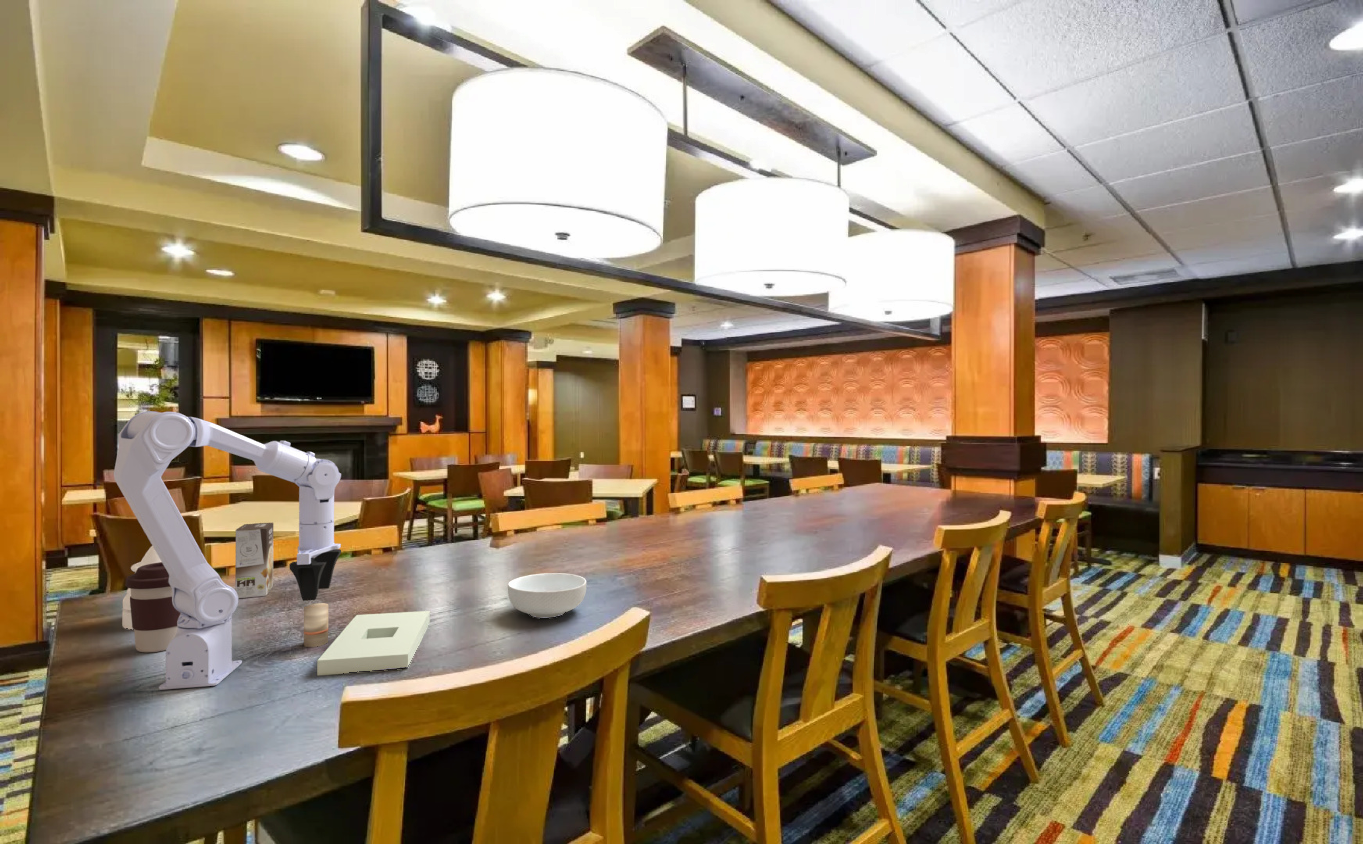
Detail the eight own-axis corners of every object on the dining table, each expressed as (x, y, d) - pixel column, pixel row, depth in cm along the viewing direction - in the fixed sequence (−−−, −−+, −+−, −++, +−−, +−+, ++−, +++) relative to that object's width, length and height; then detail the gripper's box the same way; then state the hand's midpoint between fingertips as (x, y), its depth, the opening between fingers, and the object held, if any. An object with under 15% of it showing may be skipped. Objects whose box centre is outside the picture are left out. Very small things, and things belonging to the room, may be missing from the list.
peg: (324, 646, 117) (324, 609, 117) (300, 648, 116) (300, 610, 116) (331, 638, 121) (331, 602, 121) (307, 640, 120) (308, 603, 120)
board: (407, 668, 108) (407, 654, 107) (317, 675, 104) (317, 660, 104) (429, 622, 131) (429, 610, 131) (356, 627, 128) (356, 615, 128)
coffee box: (267, 596, 148) (267, 528, 148) (234, 599, 145) (234, 530, 145) (273, 586, 156) (274, 521, 156) (242, 589, 154) (243, 523, 153)
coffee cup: (140, 640, 119) (140, 561, 119) (203, 634, 123) (203, 557, 122) (114, 659, 110) (115, 573, 110) (183, 652, 113) (183, 569, 113)
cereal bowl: (598, 605, 144) (598, 575, 144) (565, 629, 128) (566, 595, 128) (531, 599, 149) (531, 569, 149) (492, 621, 133) (492, 587, 133)
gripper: (328, 528, 112) (327, 604, 112) (350, 515, 126) (350, 582, 127) (283, 529, 111) (283, 606, 111) (311, 516, 125) (311, 584, 125)
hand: (316, 594), depth 119 cm, fingers open, 7 cm apart
